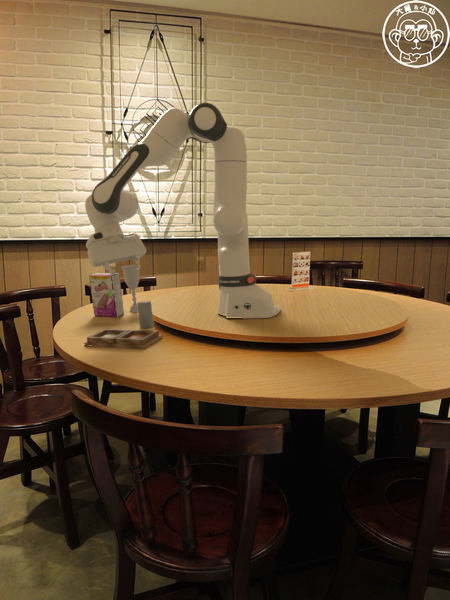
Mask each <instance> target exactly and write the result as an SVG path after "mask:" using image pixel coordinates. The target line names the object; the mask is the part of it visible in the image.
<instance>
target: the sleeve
mask: <svg viewBox="0 0 450 600" xmlns="http://www.w3.org/2000/svg"><path fill="white" fill-rule="evenodd" d="M136 303H137V305H138V312H137V313H138V319H139V320H138V321H139V330H154V331H156V330H155V325H154V318H153V317H154V316H153V307H152V301H151V300H142V301H139V302H136Z"/></svg>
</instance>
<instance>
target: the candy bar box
mask: <svg viewBox="0 0 450 600" xmlns="http://www.w3.org/2000/svg"><path fill="white" fill-rule="evenodd" d="M88 277H89V285H90V294H91V300H92V301H91V302H92V308H93V316H94V315H95V316H94V317H102V316H104V317H106V318H119V317H121V316H124V315H125V312H124V311H125V310H124V309H125V308H124V302H123V301H124V300H123V295H122V294H123V293H122V286H121V279H120V273H118V272H116V274H115V275H112V276H111V275H110V273H109V272H108V273H107V272H103V273H102V272H96V273H92V274H89V275H88Z"/></svg>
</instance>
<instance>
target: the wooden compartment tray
mask: <svg viewBox="0 0 450 600" xmlns="http://www.w3.org/2000/svg"><path fill="white" fill-rule="evenodd" d="M162 338H163V334H160V333H159V330H155V331H154V330H140V329H125V328H124V329H121V328H119V329H118V328H104V329H102V330H100V331H97V332H96V333H93V334H91V335H89V336H87V337H86V340H87V341H85V342H84V344H85V345H92V346H91V347H95V346H102V347H101V348H117V349H118V348H119V349H136V350H137V349H138V350H145V349H147V348H149V347H150V346H151V345H153V344H155V343H156V342H158V341H159V340H162ZM85 345H84V346H85Z"/></svg>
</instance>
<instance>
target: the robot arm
mask: <svg viewBox="0 0 450 600" xmlns="http://www.w3.org/2000/svg"><path fill="white" fill-rule="evenodd" d="M188 139H192V140H194V141H197V142H200V143H202V144H210V143H211V145H212V147H213V150H214V191H213V192H214V195H213V212H212V213H213V216H212V217H213V220H212V221H213V226H214V229H215V230H216V232H217V259H218V260H217V262H218V273H219V274H218V281H217V282H218V289H219V303H218V305H219V306H218V311H217V313H218V312H219V313H221V314H224V315H225V316H228V317H243V319H267V318H272V317H275V316H277V315H278V314H279V313H280V311H281V308H280V306H279V305H275V304H274V299H273V297H272V294H271V293H270V292H269V291H267V290H265V288H262V287H261V286H260V285H259V284H257V274H255V275H254V274H253V273H251V267H250V252H249V251H250V250H249V249H250V248H249V223H248V214H247V189H248V187H247V186H248V182H247V181H248V155H247V145H246V144H247V143H246V139H245V135H244V133H243V131H242V130H240V129H239V128H236V127H231V126H228V124H227V122H226V120H225V118H224V116H223V115H222V113H221V111H220V110H219V108H218V107H217V106H215V105H214V104H212V103H210V102H201V103H199V104H197V105H194V107H193V108H192V109H191V111H190V113H186V112H184V111H183V110H182V109H179V108H176V107H171V108H169V109H167V110H166V111H164V113H163V114H162V115H161V116H160V117H159V118H158V119H157V120H156V122H155V123H154V125H153V126H152V128H151V129H150V130H149V132H148V133H146V135H145V136H144V138H143V139H142V140H141V141H140V142H138V143H136V144H135V145H133V146H132V147H131V148H130V150H128V152H127V153H126V154H125V155H124V156H123V157H122V159H120V161H119V162H118V163H117V165H116V166H115V167H114V169H112V170H111V172H110V173H109V174H108V175H107V176H106V177H105V178H104V179H103V180H101V181H99V182H98V184H96V186H95V187H94V188H93V189H92V193H91V194H90V195H89V196H88V197H87V198H86V199H85V204H84V205H85V211H86V214H87V217H88V220H89V222H90V224H91V226H92V227H93V229H94V233H93V234H91V235H90V236H89V238H88V239H87V240H86V243H85V247H86V249H87V257H88V260H89V263H90V265H91V266H93V267H94V268H98V267H101V266H102V267H103V269H104V270H106V271H107V272H108V273H110V275H111V276H112V275H115V274H116V273H117V271H116V268H112V267H111V266H110V264H114V263H115V264H116V263H120V262H121V263H122V262H125V261H130V260H133V261H134V262H135V264H133V265H134V268H135V270H138V269H139V270H140V269H141V268H142V267H141V264H140V259H141V258H142V257H144V256H145V255H146V253H147V248H146V245H145V244H144V243H143V240H141V238H140V235H139V234H137V233H135V232H131V233H124V232H123V230H122V227H121V226H120V223H123V222H124V221H127V220H129V219H132V218H133V217H135V216H136V213H138V208H139V201H138V198H137V196H136V195H135V194H133V193H131V192H130V191H128V190H126V189H124V188H125V187H126V186H127V185H128V183H130V181H131V180H132V179H133V178H134V176H135V175H136V174H137V173H138V172H139V171H140V170H141V169H144V168H147V167H148V168H149V167H163V166H165V165H167V164H169V162H171V161H172V160H173V159H174V157H175V156H176V154H177V153H178V152H179V150H180V148H181V147H182V145H183V144H184V142H185V141H187V140H188Z"/></svg>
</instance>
